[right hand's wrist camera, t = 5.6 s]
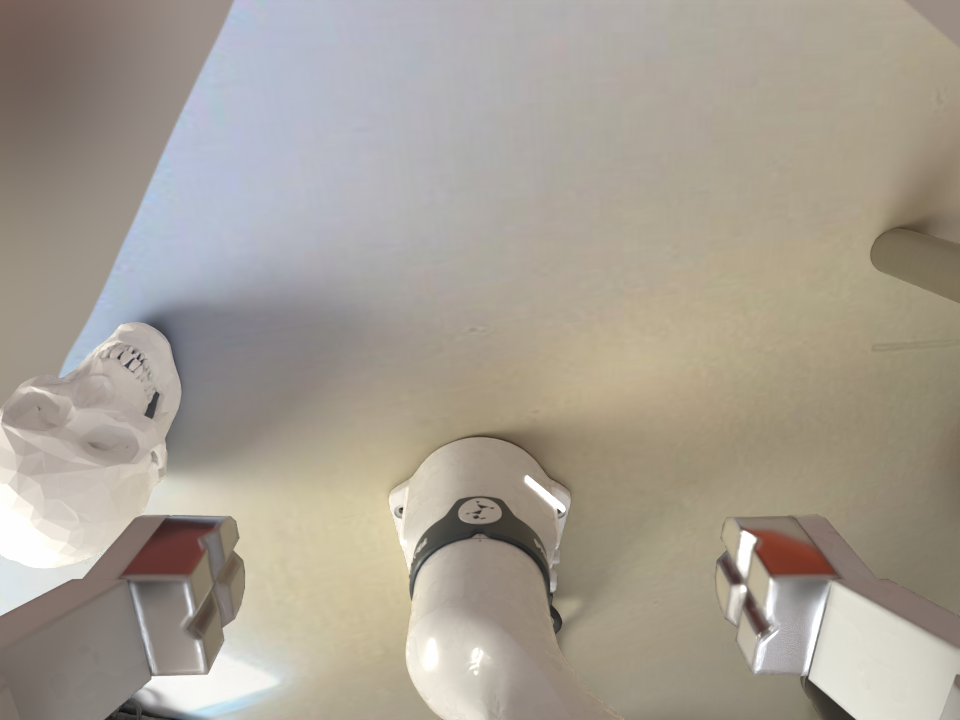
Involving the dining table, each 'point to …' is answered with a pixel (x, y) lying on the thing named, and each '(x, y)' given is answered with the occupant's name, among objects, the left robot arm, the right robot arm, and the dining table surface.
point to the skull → (85, 449)
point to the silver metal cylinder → (919, 261)
